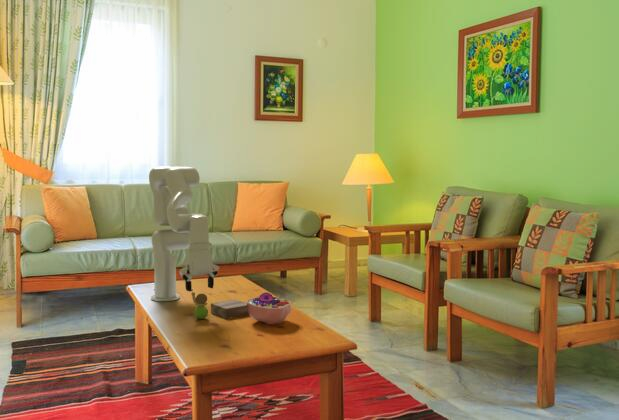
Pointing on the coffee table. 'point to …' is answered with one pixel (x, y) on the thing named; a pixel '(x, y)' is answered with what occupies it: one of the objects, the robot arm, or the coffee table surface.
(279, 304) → the cell model
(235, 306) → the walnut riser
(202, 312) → the snail figurine
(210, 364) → the coffee table surface
